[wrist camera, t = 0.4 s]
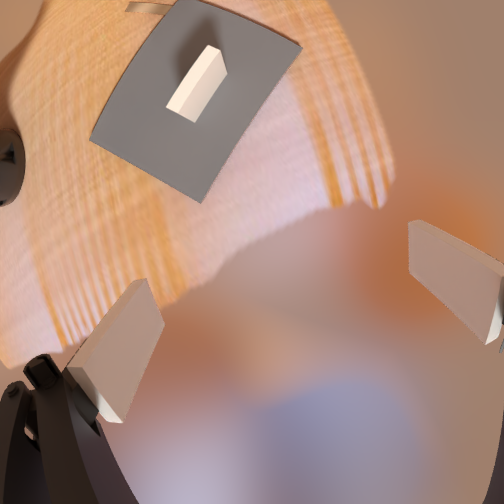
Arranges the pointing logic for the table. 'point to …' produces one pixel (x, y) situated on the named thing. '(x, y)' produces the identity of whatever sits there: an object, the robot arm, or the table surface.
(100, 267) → the table surface
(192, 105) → the tile
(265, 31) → the slate board
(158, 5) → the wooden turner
